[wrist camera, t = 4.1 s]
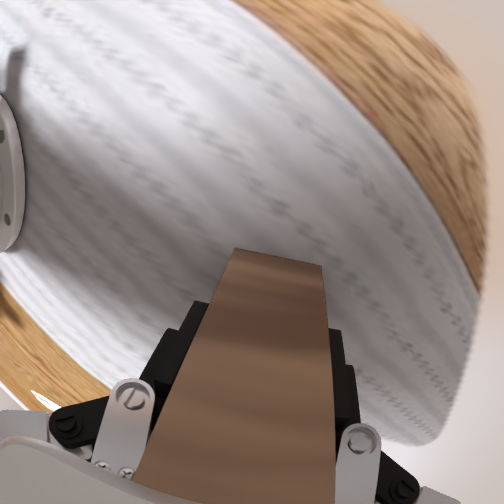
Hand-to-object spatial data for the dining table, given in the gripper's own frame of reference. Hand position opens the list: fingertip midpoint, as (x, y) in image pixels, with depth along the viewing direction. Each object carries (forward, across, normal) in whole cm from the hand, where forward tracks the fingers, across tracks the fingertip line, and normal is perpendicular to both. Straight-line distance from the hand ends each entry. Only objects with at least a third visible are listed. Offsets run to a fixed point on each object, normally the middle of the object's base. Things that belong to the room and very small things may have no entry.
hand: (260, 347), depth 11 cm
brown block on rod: (+4, 0, +8) cm, 9 cm away
